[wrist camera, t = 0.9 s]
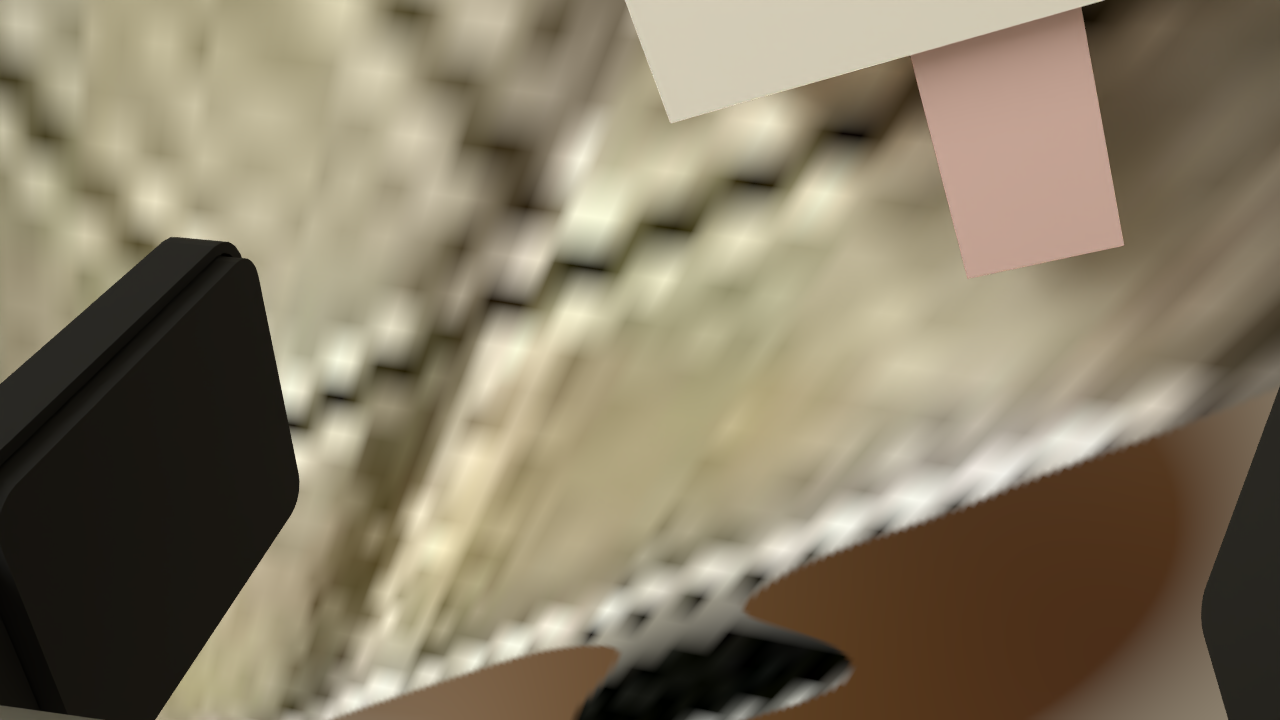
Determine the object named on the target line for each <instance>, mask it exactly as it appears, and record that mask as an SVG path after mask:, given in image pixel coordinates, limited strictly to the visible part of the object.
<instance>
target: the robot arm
mask: <svg viewBox="0 0 1280 720" xmlns="http://www.w3.org/2000/svg"><path fill="white" fill-rule="evenodd" d="M298 493H299V474H298V469H297V464H296V459H295V454H294V449H293V444H292V439H291V434H290V429H289V425H288V420H287V415H286V410H285V405H284V400H283V395H282V390H281V385H280V380H279V375H278V370H277V365H276V361H275V356H274V351H273V346H272V341H271V336H270V331H269V326H268V321H267V316H266V311H265V306H264V301H263V297H262V292H261V287H260V282H259V277H258V273H257V270H256V267H255V266H254V264H253V263H252V261H250V260H249V259H245V258H242V257H241V254H240V253H239V251H238V250H237V248H236V247H235V246H234V245H233V244H231V243H229V242H222V241H212V240H201V239H190V238H180V237H170V238H168V239H167V240H165V241H163V242H162V243H161V244H160V245H159V246H157V247H156V248H155V249H154V250H153V251H152V252H151V253H149V254H148V255H147V256H146V257H145V258H144V259H143V260H141V261H140V262H139V263H138V264H137V265H136V266H135V267H133V268H132V269H131V270H130V271H129V272H128V273H127V274H125V275H124V276H123V277H122V278H121V279H120V280H119V281H117V282H116V283H115V284H114V285H113V286H112V287H111V288H109V289H108V290H107V291H106V292H105V293H104V294H103V295H101V296H100V297H99V298H98V299H97V300H96V301H95V302H93V303H92V304H91V305H90V306H89V307H88V308H87V309H85V310H84V311H83V312H82V313H81V314H80V315H79V316H78V317H76V318H75V319H74V320H73V321H72V322H71V323H70V324H68V325H67V326H66V327H65V328H64V329H63V330H62V331H60V332H59V333H58V334H57V335H56V336H55V337H54V338H52V339H51V340H50V341H49V342H48V343H47V344H46V345H44V346H43V347H42V348H41V349H40V350H39V351H38V352H36V353H35V354H34V355H33V356H32V357H31V358H30V359H28V360H27V361H26V362H25V363H24V364H23V365H22V366H20V367H19V368H18V369H17V370H16V371H15V372H14V373H12V374H11V375H10V376H9V377H8V378H7V379H6V380H4V381H3V382H2V383H1V384H0V720H155V719H156V718H157V716H158V715H159V713H160V712H161V710H162V709H163V707H164V706H165V704H166V703H167V701H168V700H169V698H170V697H171V695H172V693H173V692H174V690H175V689H176V687H177V686H178V684H179V683H180V681H181V680H182V678H183V677H184V675H185V674H186V672H187V671H188V669H189V668H190V666H191V665H192V663H193V662H194V660H195V659H196V657H197V656H198V654H199V653H200V651H201V650H202V648H203V647H204V645H205V644H206V642H207V641H208V639H209V638H210V636H211V635H212V633H213V632H214V630H215V629H216V627H217V626H218V624H219V623H220V621H221V620H222V618H223V617H224V615H225V614H226V612H227V611H228V609H229V608H230V606H231V604H232V603H233V601H234V600H235V598H236V597H237V595H238V594H239V592H240V591H241V589H242V588H243V586H244V585H245V583H246V582H247V580H248V579H249V577H250V576H251V574H252V573H253V571H254V570H255V568H256V567H257V565H258V564H259V562H260V561H261V559H262V558H263V556H264V555H265V553H266V552H267V550H268V549H269V547H270V546H271V544H272V543H273V541H274V540H275V538H276V537H277V535H278V534H279V532H280V531H281V529H282V528H283V526H284V525H285V523H286V522H287V520H288V519H289V517H290V515H291V514H292V512H293V510H294V508H295V505H296V502H297V498H298ZM1201 619H1202V629H1203V634H1204V637H1205V641H1206V644H1207V648H1208V651H1209V655H1210V658H1211V661H1212V665H1213V668H1214V672H1215V675H1216V679H1217V682H1218V685H1219V689H1220V692H1221V696H1222V699H1223V703H1224V706H1225V709H1226V713H1227V716H1228V720H1280V387H1279V390H1278V393H1277V396H1276V399H1275V401H1274V404H1273V406H1272V409H1271V412H1270V415H1269V417H1268V420H1267V423H1266V425H1265V428H1264V431H1263V433H1262V437H1261V439H1260V442H1259V444H1258V447H1257V450H1256V453H1255V455H1254V458H1253V461H1252V463H1251V466H1250V469H1249V472H1248V474H1247V477H1246V480H1245V482H1244V485H1243V488H1242V490H1241V493H1240V496H1239V498H1238V501H1237V504H1236V507H1235V510H1234V512H1233V515H1232V517H1231V520H1230V523H1229V526H1228V529H1227V531H1226V534H1225V537H1224V539H1223V542H1222V545H1221V547H1220V550H1219V553H1218V555H1217V558H1216V561H1215V563H1214V566H1213V569H1212V572H1211V574H1210V577H1209V580H1208V582H1207V585H1206V588H1205V591H1204V595H1203V601H1202V612H1201Z"/></svg>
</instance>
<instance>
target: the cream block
mask: <svg viewBox="0 0 1280 720" xmlns="http://www.w3.org/2000/svg"><path fill="white" fill-rule="evenodd" d="M1100 1H1103V0H625V2H626V4H627V7H628V10H629V12H630V15H631V18H632V21H633V23H634V26H635V29H636V31H637V34H638V37H639V40H640V42H641V45H642V48H643V50H644V53H645V56H646V58H647V61H648V64H649V67H650V69H651V72H652V75H653V77H654V80H655V83H656V86H657V88H658V91H659V94H660V96H661V99H662V102H663V105H664V107H665V110H666V113H667V115H668V118H669V121H670V123H674V122H677V121H681V120H684V119H688V118H691V117H695V116H698V115H702V114H705V113H709V112H712V111H716V110H719V109H723V108H726V107H730V106H733V105H737V104H741V103H744V102H748V101H751V100H755V99H758V98H762V97H765V96H769V95H772V94H776V93H779V92H783V91H786V90H790V89H793V88H797V87H800V86H804V85H807V84H811V83H814V82H818V81H822V80H825V79H829V78H832V77H836V76H839V75H843V74H846V73H850V72H853V71H857V70H860V69H864V68H867V67H871V66H874V65H878V64H881V63H885V62H888V61H892V60H896V59H899V58H903V57H906V56H910V55H913V54H917V53H920V52H924V51H927V50H931V49H934V48H938V47H941V46H945V45H948V44H952V43H955V42H959V41H962V40H966V39H970V38H973V37H977V36H980V35H984V34H987V33H991V32H994V31H998V30H1001V29H1005V28H1008V27H1012V26H1015V25H1019V24H1022V23H1026V22H1029V21H1033V20H1036V19H1040V18H1043V17H1047V16H1051V15H1054V14H1058V13H1061V12H1065V11H1068V10H1072V9H1075V8H1079V7H1082V6H1086V5H1089V4H1093V3H1096V2H1100Z"/></svg>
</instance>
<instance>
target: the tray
mask: <svg viewBox="0 0 1280 720" xmlns="http://www.w3.org/2000/svg"><path fill="white" fill-rule="evenodd" d="M910 57H911V61H912V64H913V68H914V72H915V76H916V80H917V84H918V88H919V92H920V96H921V100H922V103H923V107H924V111H925V115H926V119H927V123H928V127H929V131H930V135H931V139H932V142H933V146H934V150H935V154H936V158H937V162H938V166H939V170H940V174H941V178H942V181H943V185H944V189H945V193H946V197H947V201H948V205H949V209H950V213H951V216H952V220H953V224H954V228H955V232H956V236H957V240H958V244H959V248H960V252H961V255H962V259H963V263H964V267H965V271H966V275H967V279H969V278H974V277H979V276H983V275H988V274H993V273H998V272H1002V271H1007V270H1012V269H1016V268H1021V267H1026V266H1030V265H1035V264H1040V263H1045V262H1049V261H1054V260H1059V259H1063V258H1068V257H1073V256H1078V255H1082V254H1087V253H1092V252H1096V251H1101V250H1106V249H1110V248H1115V247H1120V246H1124V242H1123V236H1122V231H1121V225H1120V219H1119V214H1118V208H1117V203H1116V197H1115V192H1114V186H1113V181H1112V175H1111V169H1110V164H1109V158H1108V153H1107V147H1106V142H1105V136H1104V131H1103V125H1102V119H1101V114H1100V108H1099V103H1098V97H1097V92H1096V86H1095V81H1094V75H1093V69H1092V64H1091V58H1090V53H1089V47H1088V42H1087V36H1086V31H1085V25H1084V19H1083V14H1082V8H1081V7H1079V8H1075V9H1072V10H1068V11H1065V12H1061V13H1058V14H1054V15H1051V16H1047V17H1043V18H1040V19H1036V20H1033V21H1029V22H1026V23H1022V24H1019V25H1015V26H1012V27H1008V28H1005V29H1001V30H998V31H994V32H991V33H987V34H984V35H980V36H977V37H973V38H970V39H966V40H962V41H959V42H955V43H952V44H948V45H945V46H941V47H938V48H934V49H931V50H927V51H924V52H920V53H917V54H913V55H910Z"/></svg>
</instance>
